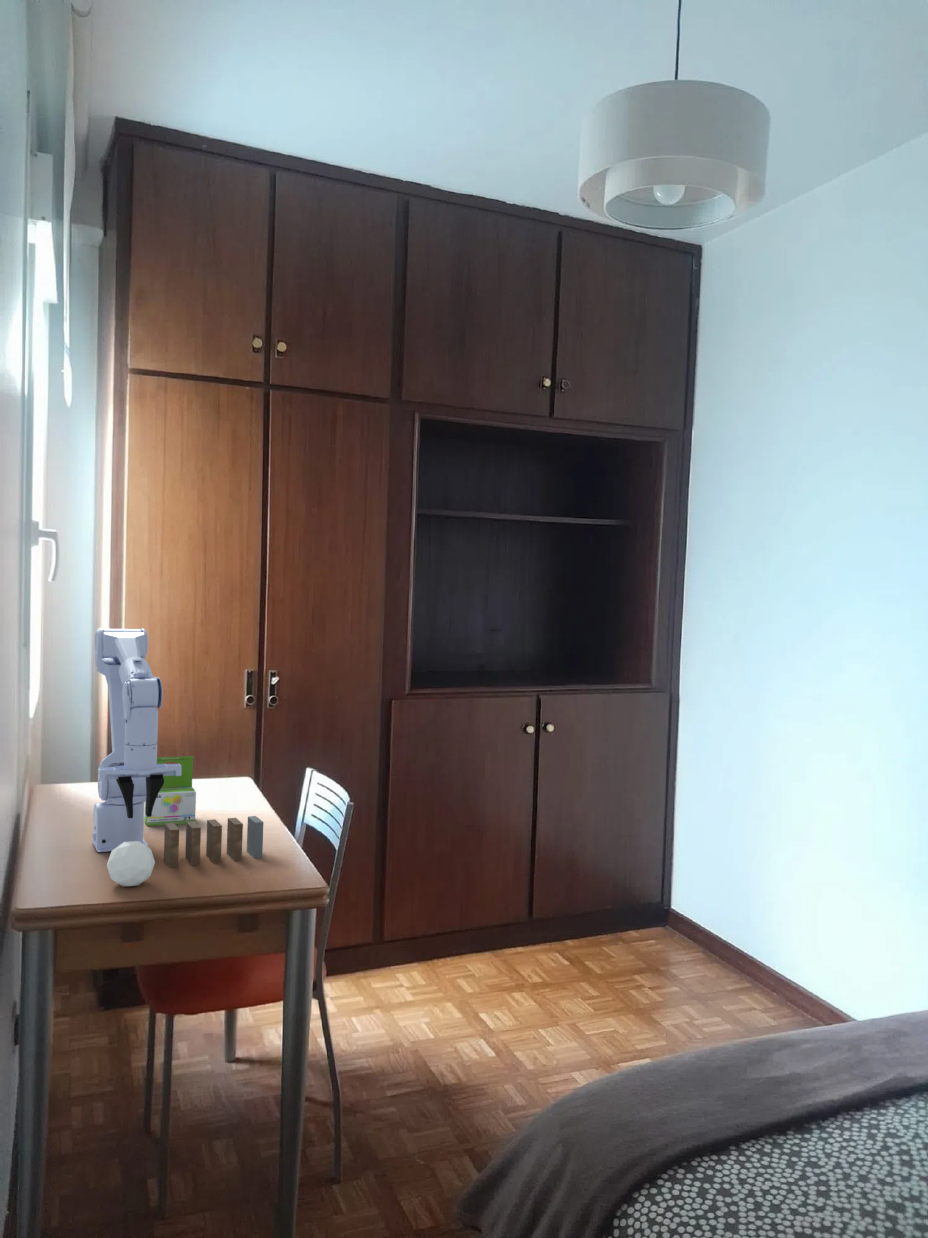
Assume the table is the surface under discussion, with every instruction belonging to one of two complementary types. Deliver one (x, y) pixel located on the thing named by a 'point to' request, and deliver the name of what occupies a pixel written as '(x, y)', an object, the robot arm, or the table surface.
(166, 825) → the domino
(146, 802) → the robot arm
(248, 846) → the domino
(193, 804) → the ink box
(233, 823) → the domino
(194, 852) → the domino
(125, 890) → the table surface
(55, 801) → the table surface
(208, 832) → the domino
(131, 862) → the geometric ball
